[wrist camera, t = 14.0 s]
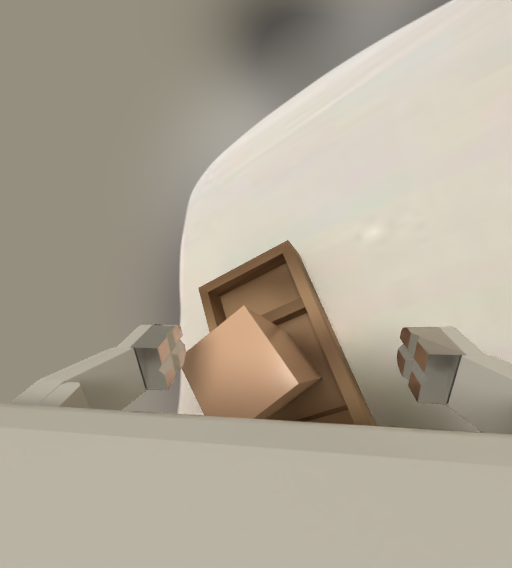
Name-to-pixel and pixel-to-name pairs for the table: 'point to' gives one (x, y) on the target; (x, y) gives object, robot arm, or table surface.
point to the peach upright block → (247, 368)
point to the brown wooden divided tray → (292, 331)
